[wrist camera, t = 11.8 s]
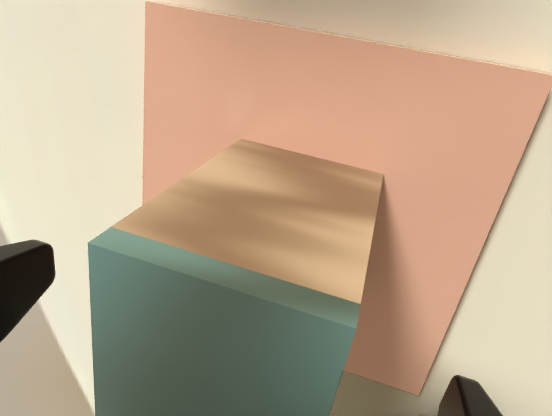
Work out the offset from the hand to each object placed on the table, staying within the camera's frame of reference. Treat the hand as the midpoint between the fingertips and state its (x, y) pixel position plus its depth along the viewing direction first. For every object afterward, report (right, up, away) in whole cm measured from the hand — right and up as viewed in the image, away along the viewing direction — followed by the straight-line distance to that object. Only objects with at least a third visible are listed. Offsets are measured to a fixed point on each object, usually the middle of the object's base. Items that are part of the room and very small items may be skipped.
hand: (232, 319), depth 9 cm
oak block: (+2, +2, +5) cm, 5 cm away
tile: (+2, +2, +5) cm, 6 cm away
